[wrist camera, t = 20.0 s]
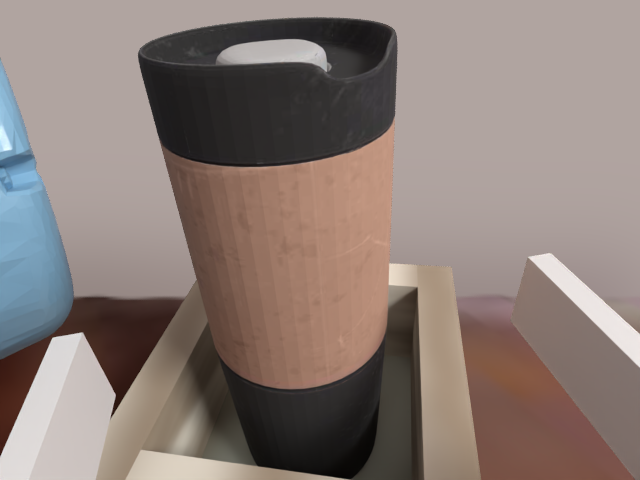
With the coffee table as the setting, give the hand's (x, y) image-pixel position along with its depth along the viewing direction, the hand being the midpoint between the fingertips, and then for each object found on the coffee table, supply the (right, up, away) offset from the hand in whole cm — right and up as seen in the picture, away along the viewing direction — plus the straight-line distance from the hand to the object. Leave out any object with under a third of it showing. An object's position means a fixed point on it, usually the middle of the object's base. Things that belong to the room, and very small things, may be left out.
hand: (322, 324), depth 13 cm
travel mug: (0, -8, +11) cm, 14 cm away
